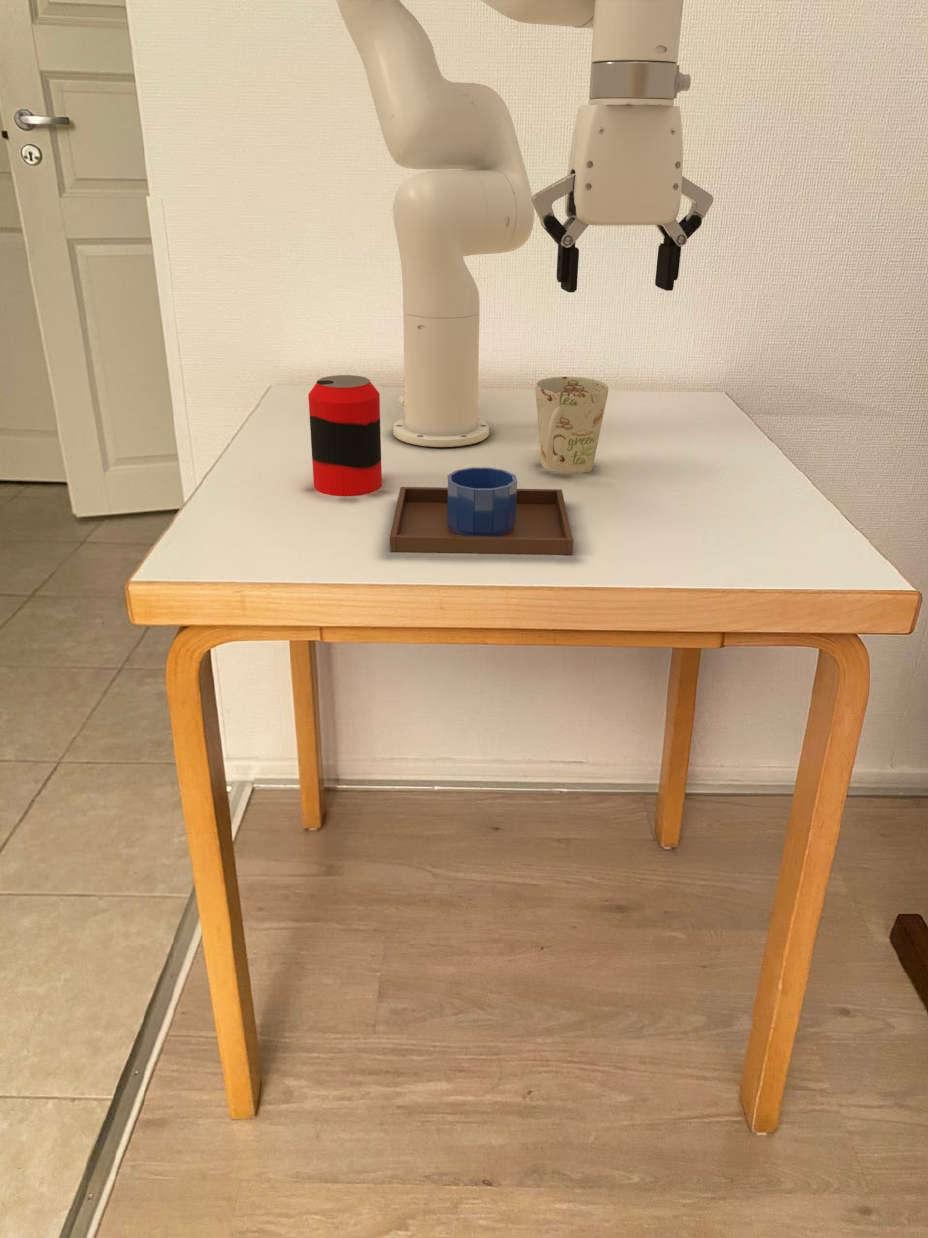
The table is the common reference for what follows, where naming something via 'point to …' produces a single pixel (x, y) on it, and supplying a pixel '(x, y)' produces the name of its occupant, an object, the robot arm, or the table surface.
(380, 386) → the table surface
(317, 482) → the soda can
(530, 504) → the tray
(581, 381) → the mug
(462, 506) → the bowl
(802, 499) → the table surface
